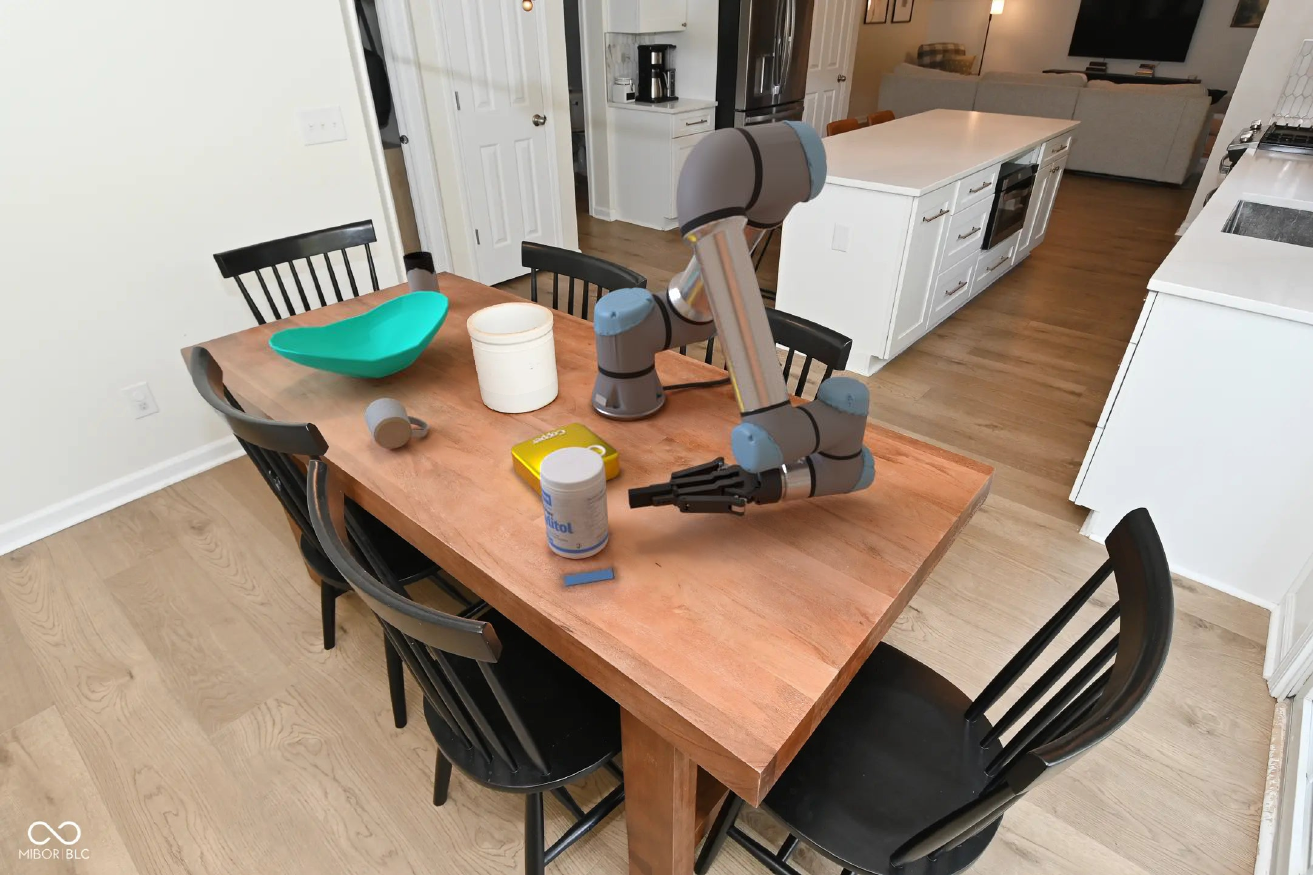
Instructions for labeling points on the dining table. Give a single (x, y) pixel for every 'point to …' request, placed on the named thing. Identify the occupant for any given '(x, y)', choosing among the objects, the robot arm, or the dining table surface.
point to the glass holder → (421, 272)
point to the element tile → (572, 435)
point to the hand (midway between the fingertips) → (629, 498)
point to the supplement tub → (575, 502)
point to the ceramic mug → (392, 423)
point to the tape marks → (589, 577)
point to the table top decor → (368, 338)
